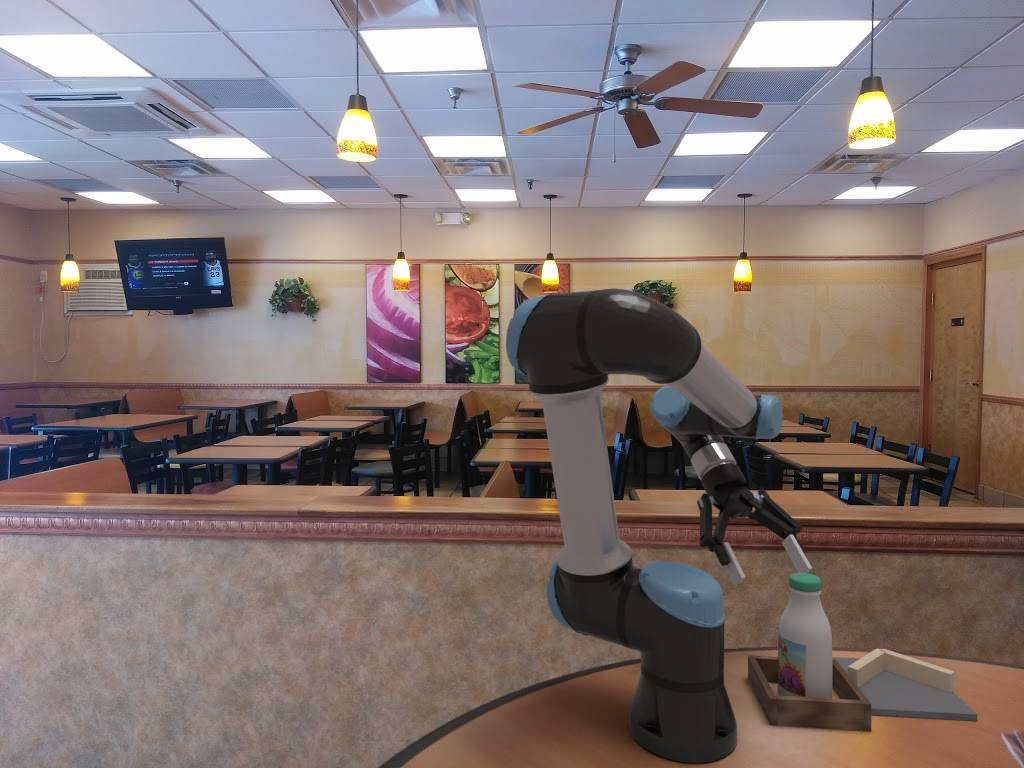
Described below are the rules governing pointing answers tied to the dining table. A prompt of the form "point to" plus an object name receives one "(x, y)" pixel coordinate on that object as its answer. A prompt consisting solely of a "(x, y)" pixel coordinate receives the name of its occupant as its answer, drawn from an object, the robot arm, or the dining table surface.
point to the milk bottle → (804, 642)
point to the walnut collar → (809, 700)
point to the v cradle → (906, 686)
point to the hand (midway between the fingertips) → (773, 577)
